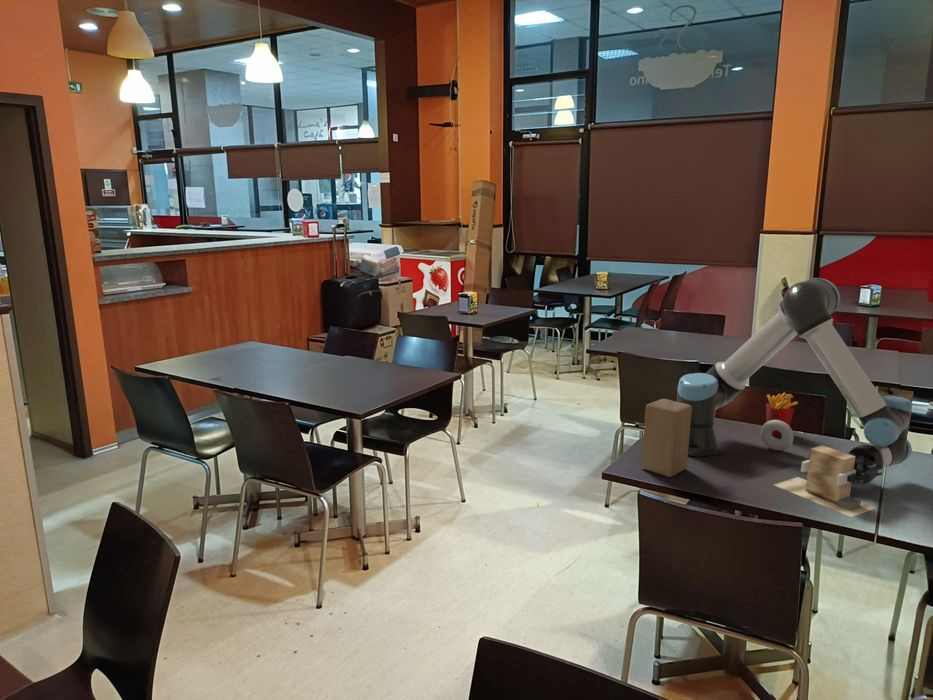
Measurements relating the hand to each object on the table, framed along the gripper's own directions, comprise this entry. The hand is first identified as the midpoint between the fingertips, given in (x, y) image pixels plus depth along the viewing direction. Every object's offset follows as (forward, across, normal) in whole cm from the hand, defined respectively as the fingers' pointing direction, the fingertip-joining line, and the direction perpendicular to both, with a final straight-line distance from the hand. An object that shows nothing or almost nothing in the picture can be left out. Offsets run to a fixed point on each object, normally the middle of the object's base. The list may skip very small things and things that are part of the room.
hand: (819, 473), depth 175 cm
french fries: (-40, +39, -9) cm, 56 cm away
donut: (-26, +31, -9) cm, 41 cm away
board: (-4, +1, -9) cm, 10 cm away
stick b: (-4, -7, -7) cm, 11 cm away
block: (+17, +37, -9) cm, 41 cm away
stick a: (-4, -5, -7) cm, 10 cm away
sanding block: (-5, 0, -7) cm, 8 cm away
